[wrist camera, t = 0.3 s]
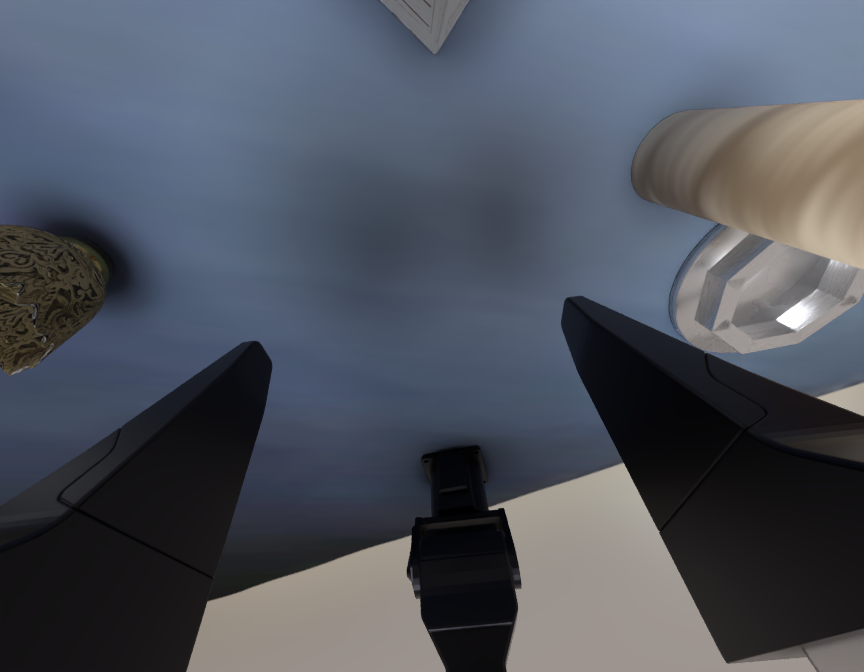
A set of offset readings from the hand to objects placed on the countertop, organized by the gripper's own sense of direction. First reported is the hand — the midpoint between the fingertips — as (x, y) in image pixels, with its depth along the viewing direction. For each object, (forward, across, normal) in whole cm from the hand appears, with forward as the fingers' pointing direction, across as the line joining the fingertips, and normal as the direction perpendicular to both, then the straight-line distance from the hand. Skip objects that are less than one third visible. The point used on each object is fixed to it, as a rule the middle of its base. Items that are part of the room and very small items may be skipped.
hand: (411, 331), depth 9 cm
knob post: (+14, -16, 0) cm, 22 cm away
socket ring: (+13, -25, +10) cm, 30 cm away
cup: (+14, +23, +1) cm, 27 cm away
